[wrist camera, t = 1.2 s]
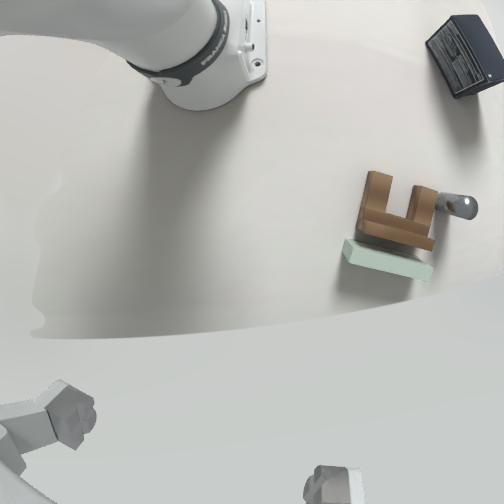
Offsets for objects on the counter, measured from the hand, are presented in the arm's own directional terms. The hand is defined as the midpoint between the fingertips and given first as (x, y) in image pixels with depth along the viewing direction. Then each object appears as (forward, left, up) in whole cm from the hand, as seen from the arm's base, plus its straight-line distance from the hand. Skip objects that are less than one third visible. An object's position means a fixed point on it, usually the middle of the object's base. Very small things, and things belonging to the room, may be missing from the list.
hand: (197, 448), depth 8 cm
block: (-9, +16, -36) cm, 40 cm away
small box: (-35, +23, -36) cm, 55 cm away
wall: (-2, +16, -36) cm, 39 cm away
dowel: (-12, +24, -36) cm, 44 cm away
